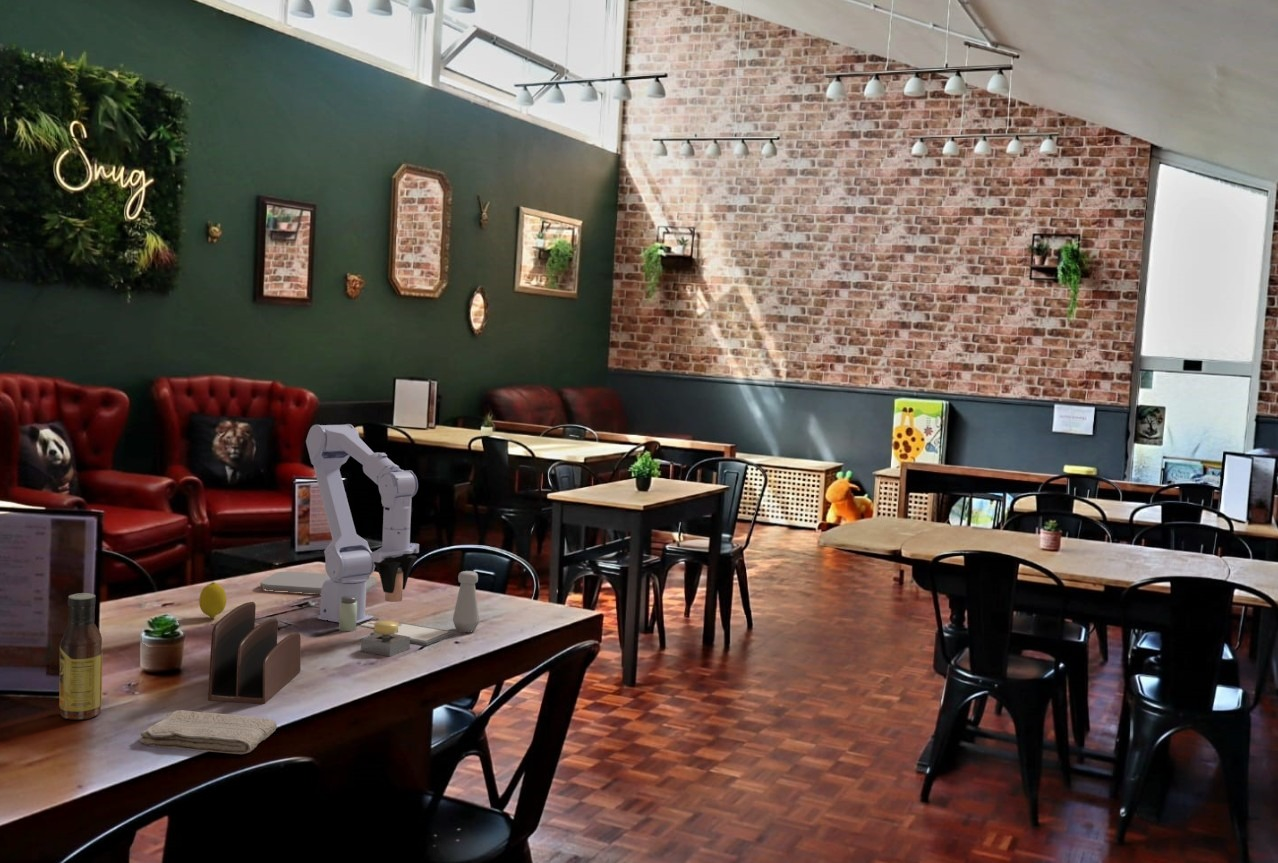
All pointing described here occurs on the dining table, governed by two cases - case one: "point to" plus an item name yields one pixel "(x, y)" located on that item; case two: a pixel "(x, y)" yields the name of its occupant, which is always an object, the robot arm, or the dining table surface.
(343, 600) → the green spice jar
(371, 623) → the card
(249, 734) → the washcloth
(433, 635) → the clipboard
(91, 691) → the sauce bottle
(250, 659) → the letter holder
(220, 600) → the lemon
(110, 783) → the dining table surface
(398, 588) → the pepper shaker
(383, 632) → the button
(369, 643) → the switch box
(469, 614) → the salt shaker
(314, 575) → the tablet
